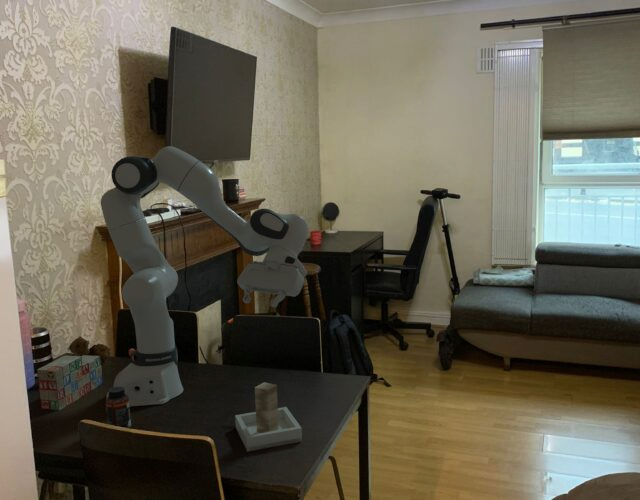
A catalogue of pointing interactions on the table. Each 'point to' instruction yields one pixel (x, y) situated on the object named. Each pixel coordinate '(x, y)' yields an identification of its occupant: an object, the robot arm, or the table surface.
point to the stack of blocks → (68, 380)
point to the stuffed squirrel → (89, 350)
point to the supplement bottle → (118, 408)
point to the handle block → (266, 407)
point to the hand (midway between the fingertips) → (258, 303)
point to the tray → (255, 440)
